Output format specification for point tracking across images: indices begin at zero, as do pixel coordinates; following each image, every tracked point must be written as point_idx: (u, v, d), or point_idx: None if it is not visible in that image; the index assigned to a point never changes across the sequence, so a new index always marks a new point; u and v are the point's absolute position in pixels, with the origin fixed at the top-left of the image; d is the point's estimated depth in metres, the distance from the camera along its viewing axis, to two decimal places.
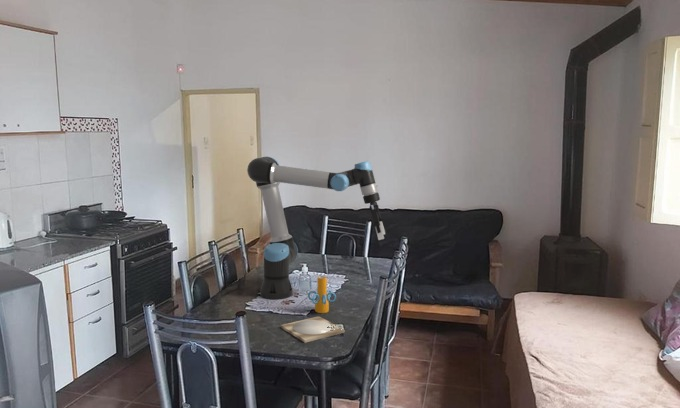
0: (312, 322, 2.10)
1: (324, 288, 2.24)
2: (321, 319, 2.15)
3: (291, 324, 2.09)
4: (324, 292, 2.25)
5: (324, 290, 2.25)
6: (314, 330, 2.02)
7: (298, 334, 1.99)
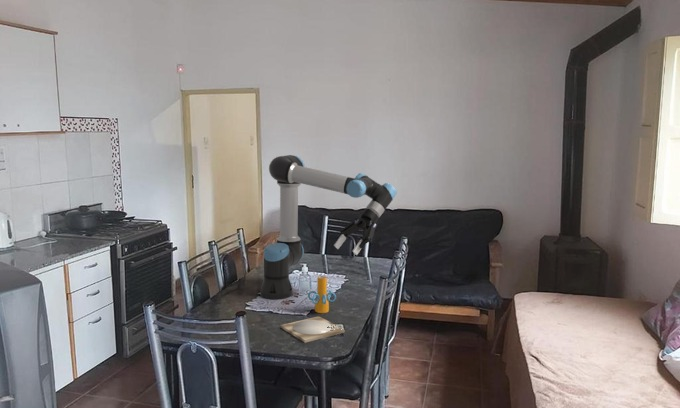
0: (312, 322, 2.10)
1: (324, 288, 2.24)
2: (321, 319, 2.15)
3: (291, 324, 2.09)
4: (324, 292, 2.25)
5: (324, 290, 2.25)
6: (314, 330, 2.02)
7: (298, 334, 1.99)
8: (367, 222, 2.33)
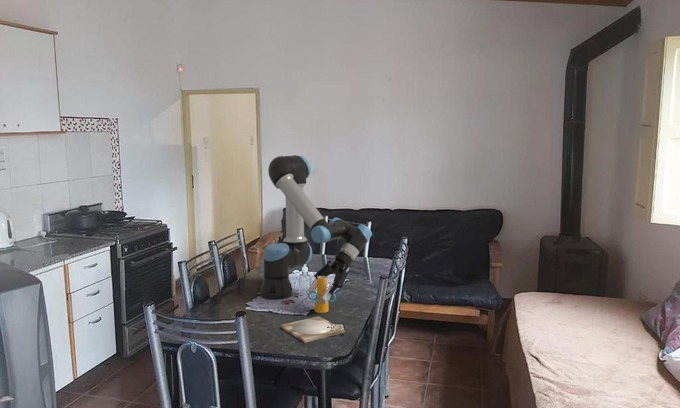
0: (312, 322, 2.10)
1: (324, 288, 2.24)
2: (321, 319, 2.15)
3: (291, 324, 2.09)
4: (324, 292, 2.25)
5: (324, 290, 2.25)
6: (314, 330, 2.02)
7: (298, 334, 1.99)
8: (341, 265, 2.27)
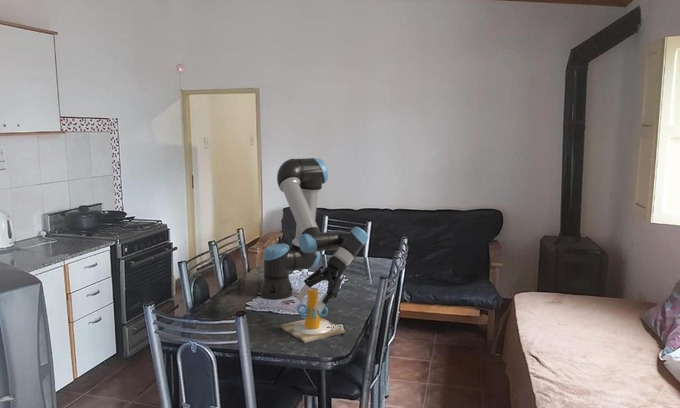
0: None
1: (315, 301, 2.03)
2: (321, 319, 2.15)
3: (291, 324, 2.09)
4: None
5: (315, 303, 2.03)
6: (314, 330, 2.02)
7: (298, 334, 1.99)
8: (333, 272, 2.05)
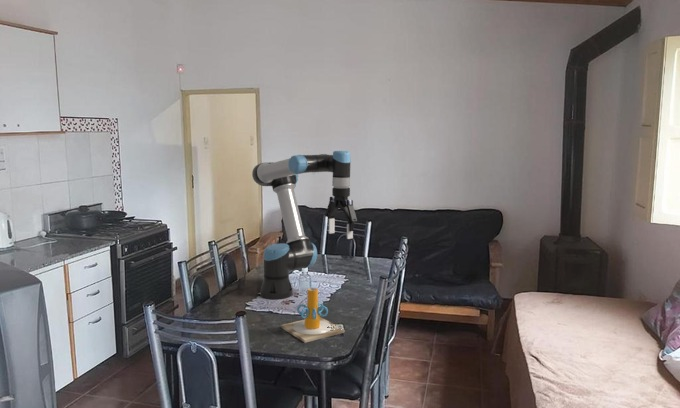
0: None
1: (315, 301, 2.03)
2: (321, 319, 2.15)
3: (291, 324, 2.09)
4: (315, 306, 2.03)
5: (315, 304, 2.03)
6: (314, 330, 2.02)
7: (298, 334, 1.99)
8: (342, 201, 2.25)
